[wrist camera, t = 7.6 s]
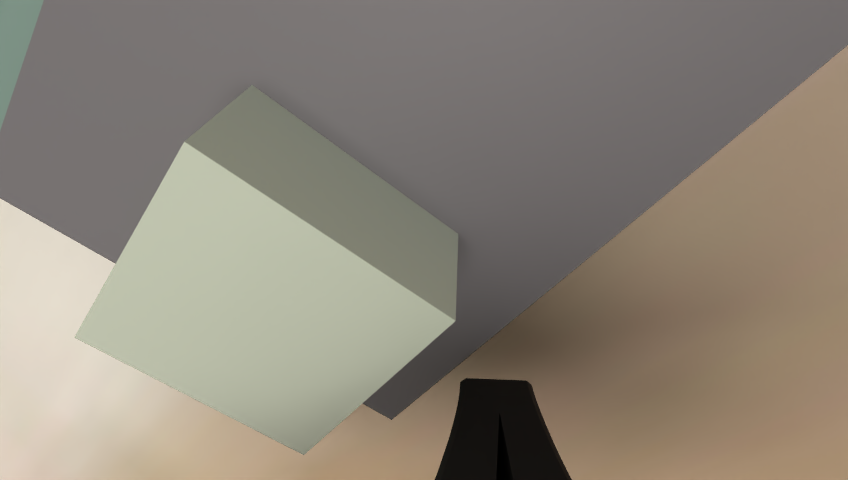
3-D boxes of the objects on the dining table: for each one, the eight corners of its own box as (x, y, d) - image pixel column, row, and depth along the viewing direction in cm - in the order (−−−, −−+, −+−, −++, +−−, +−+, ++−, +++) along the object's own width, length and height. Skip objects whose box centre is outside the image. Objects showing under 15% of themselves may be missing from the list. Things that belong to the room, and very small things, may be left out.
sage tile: (458, 233, 10) (455, 320, 8) (332, 359, 12) (303, 454, 10) (252, 84, 9) (184, 141, 7) (150, 253, 11) (74, 337, 9)
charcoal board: (872, -81, 9) (994, -76, 7) (402, 348, 15) (391, 419, 13) (410, -696, 6) (380, -1003, 4) (64, 139, 12) (-20, 187, 10)
